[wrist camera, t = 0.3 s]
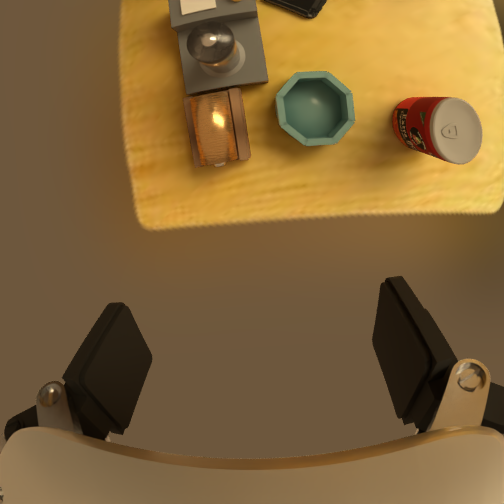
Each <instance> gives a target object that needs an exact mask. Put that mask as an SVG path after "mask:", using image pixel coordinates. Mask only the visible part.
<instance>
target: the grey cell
mask: <svg viewBox="0 0 504 504" xmlns="http://www.w3.org/2000/svg"><path fill="white" fill-rule="evenodd" d="M186 45H187V50H188V52H189V54H190V55H191V56H192V57H193V58H195V59H196V60H197V61H199V62H201V63H202V64H203V65H204V66H206V67H207V68H208V69H210V70H211V71H213V72H216V73H226V72H229V71H231V70H233V69H234V68H235V67H236V66H237V65H238V63H239V61H240V51H239V49H238V46H237V44H236V41H235V38H234V35H233V33H232V31H231V29H230V28H229V27H228V26H226V25H225V24H223V23H220V22H214V21H211V22H205V23H202V24H200V25H198V26H197V27H195V28H194V29H193V30H192V31H191V32H190V34H189V36H188V38H187V43H186Z"/></svg>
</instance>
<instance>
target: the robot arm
mask: <svg viewBox="0 0 504 504" xmlns="http://www.w3.org/2000/svg"><path fill="white" fill-rule="evenodd" d="M372 342H373V347H374V350H375V352H376V355H377V357H378V360H379V363H380V366H381V369H382V372H383V375H384V378H385V381H386V384H387V387H388V390H389V393H390V396H391V399H392V402H393V405H394V409H395V412H396V415H397V417H398V418H402V420H403V423H404V425H406V424H409V423H413V422H414V423H415V426H416V428H417V431H416V433H415V435H413V436H408V437H404V438H401V439H397V440H393V441H389V442H385V443H380V444H377V445H371V446H366V447H361V448H356V449H350V450H345V451H339V452H332V453H326V454H318V455H309V456H299V457H285V458H265V459H264V458H262V459H230V458H229V459H228V458H210V457H196V456H186V455H178V454H170V453H163V452H156V451H150V450H144V449H138V448H134V447H129V446H124V445H119V444H116V443H112V442H111V441H110V438H109V436H108V433H109V431H111V432H112V433H116V434H121V435H123V433H124V430H125V429H126V428H128V426H129V424H130V421H131V418H132V415H133V412H134V409H135V406H136V404H137V401H138V398H139V395H140V392H141V389H142V387H143V384H144V381H145V379H146V376H147V373H148V370H149V368H150V365H151V363H152V354H151V352H150V350H149V348H148V346H147V344H146V342H145V340H144V338H143V336H142V334H141V332H140V330H139V328H138V326H137V324H136V322H135V320H134V318H133V316H132V313H131V311H130V309H129V308H128V307H127V306H125V304H124V303H122V302H119V303H109V304H108V305H107V306H106V308H105V309H104V311H103V313H102V314H101V315H100V317H99V318H98V320H97V321H96V323H95V324H94V326H93V328H92V329H91V331H90V332H89V334H88V335H87V337H86V338H85V340H84V342H83V343H82V345H81V346H80V348H79V350H78V351H77V353H76V354H75V356H74V358H73V360H72V361H71V363H70V364H69V366H68V368H67V370H66V371H65V373H64V375H63V377H62V378H63V379H64V381H65V382H66V383H65V384H64V385H63V384H62V383H61V382H59V381H51V382H48V383H46V384H45V385H44V386H43V387H41V389H40V390H39V392H38V394H37V396H36V405H35V406H33V407H31V408H29V409H27V410H25V411H24V412H22V413H20V414H18V415H16V416H14V417H12V418H11V419H10V420H9V421H8V422H7V424H6V426H5V432H4V434H1V435H0V504H504V387H502V386H500V385H497V384H495V383H492V382H490V374H489V371H488V369H487V368H486V367H485V366H484V365H483V364H482V363H481V362H479V361H477V360H474V359H463V360H461V361H459V362H458V360H457V358H456V356H455V355H454V353H453V351H452V349H451V348H450V346H449V344H448V343H447V341H446V339H445V337H444V336H443V334H442V333H441V331H440V330H439V328H438V326H437V324H436V323H435V321H434V320H433V318H432V317H431V315H430V313H429V312H428V311H427V310H426V309H424V308H423V306H422V305H421V303H420V302H419V300H418V299H417V297H416V296H415V294H414V293H413V291H412V290H411V288H410V287H409V286H408V284H407V283H406V281H405V280H404V278H403V277H402V276H397V277H389V278H386V280H385V282H384V283H381V286H380V293H379V300H378V307H377V314H376V320H375V326H374V332H373V338H372Z"/></svg>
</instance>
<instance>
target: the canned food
mask: <svg viewBox="0 0 504 504" xmlns="http://www.w3.org/2000/svg"><path fill="white" fill-rule="evenodd" d="M392 123H393V128H394V132H395V134H396V136H397V137H398V138H399V140H400V141H401V142H402V143H403V144H404V145H405V146H407V147H409V148H411V149H414V150H417V151H419V152H422V153H425V154H428V155H431V156H433V157H436V158H439V159H441V160H444V161H447V162H450V163H454V164H465V163H468V162H470V161H471V160H472V159H473V158H474V157H475V156H476V155H477V153H478V152H479V149H480V147H481V143H482V126H481V122H480V119H479V117H478V115H477V113H476V111H475V110H474V108H473V107H472V106H471V105H470V104H469V103H467V102H466V101H464V100H462V99H459V98H452V97H412V98H407V99H405V100H403V101H402V102H401V103H400V104H399V105H398V106H397V107H396V109H395V111H394V113H393V120H392Z"/></svg>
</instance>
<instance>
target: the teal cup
mask: <svg viewBox="0 0 504 504" xmlns="http://www.w3.org/2000/svg"><path fill="white" fill-rule="evenodd" d="M350 92H351V91H350V90H349V89H348V88H347V87H346V86H345V85H344V84H342V83H341V82H340V81H339V80H338V79H337V78H335V77H334V76H333V75H332V74H331V73H329V72H327V71H313V72H296V73H295V74H294V75H293V76H292V77H291V78H290V79H289V80H288V82H287V83H286V84H285V85H284V86H283V87H282V88H281V90H280V91H279V92H278V93H277V94H276V96H275V111H276V116H277V119H278V125H280V127H281V128H282V129H284V130H285V131H286V132H287V133H288V134H289V135H290V136H292V137H293V138H295V139H297V140H298V141H299V142H300V143H302V144H303V145H304V146H315V145H331V144H335V143H338V141H339V140H340V139H341V138H342V137H343V136H344V134H345V133H346V132H347V131H348V130H349V129H350V128H351V126H352V125H353V124H354V122H353V121H355V114H354V104H353V95H352V93H350Z"/></svg>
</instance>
